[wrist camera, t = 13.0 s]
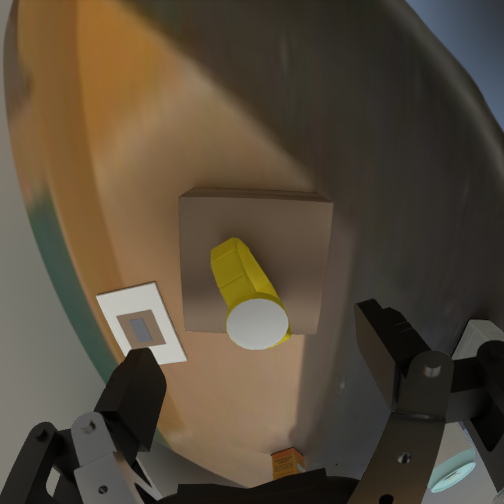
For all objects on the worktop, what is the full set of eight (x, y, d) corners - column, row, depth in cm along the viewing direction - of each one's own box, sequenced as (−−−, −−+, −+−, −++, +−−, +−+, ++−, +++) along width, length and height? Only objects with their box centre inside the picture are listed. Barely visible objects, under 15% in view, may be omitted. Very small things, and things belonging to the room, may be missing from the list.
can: (386, 432, 31) (415, 501, 20) (409, 395, 29) (449, 470, 18) (426, 424, 32) (458, 485, 20) (449, 389, 29) (491, 452, 18)
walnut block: (193, 187, 22) (179, 196, 17) (315, 192, 22) (333, 202, 17) (195, 297, 24) (184, 330, 20) (304, 300, 25) (316, 333, 20)
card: (97, 294, 24) (95, 296, 23) (155, 281, 23) (154, 283, 23) (132, 365, 26) (131, 368, 26) (187, 358, 26) (186, 361, 26)
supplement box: (293, 445, 31) (303, 512, 21) (304, 456, 32) (314, 518, 22) (269, 453, 31) (274, 519, 22) (280, 463, 32) (287, 525, 23)
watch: (204, 243, 18) (188, 285, 12) (244, 219, 17) (246, 250, 12) (256, 318, 19) (262, 379, 14) (293, 298, 19) (313, 354, 13)
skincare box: (469, 360, 28) (519, 421, 16) (445, 362, 28) (497, 431, 16) (490, 317, 26) (551, 374, 15) (467, 316, 26) (533, 381, 14)
